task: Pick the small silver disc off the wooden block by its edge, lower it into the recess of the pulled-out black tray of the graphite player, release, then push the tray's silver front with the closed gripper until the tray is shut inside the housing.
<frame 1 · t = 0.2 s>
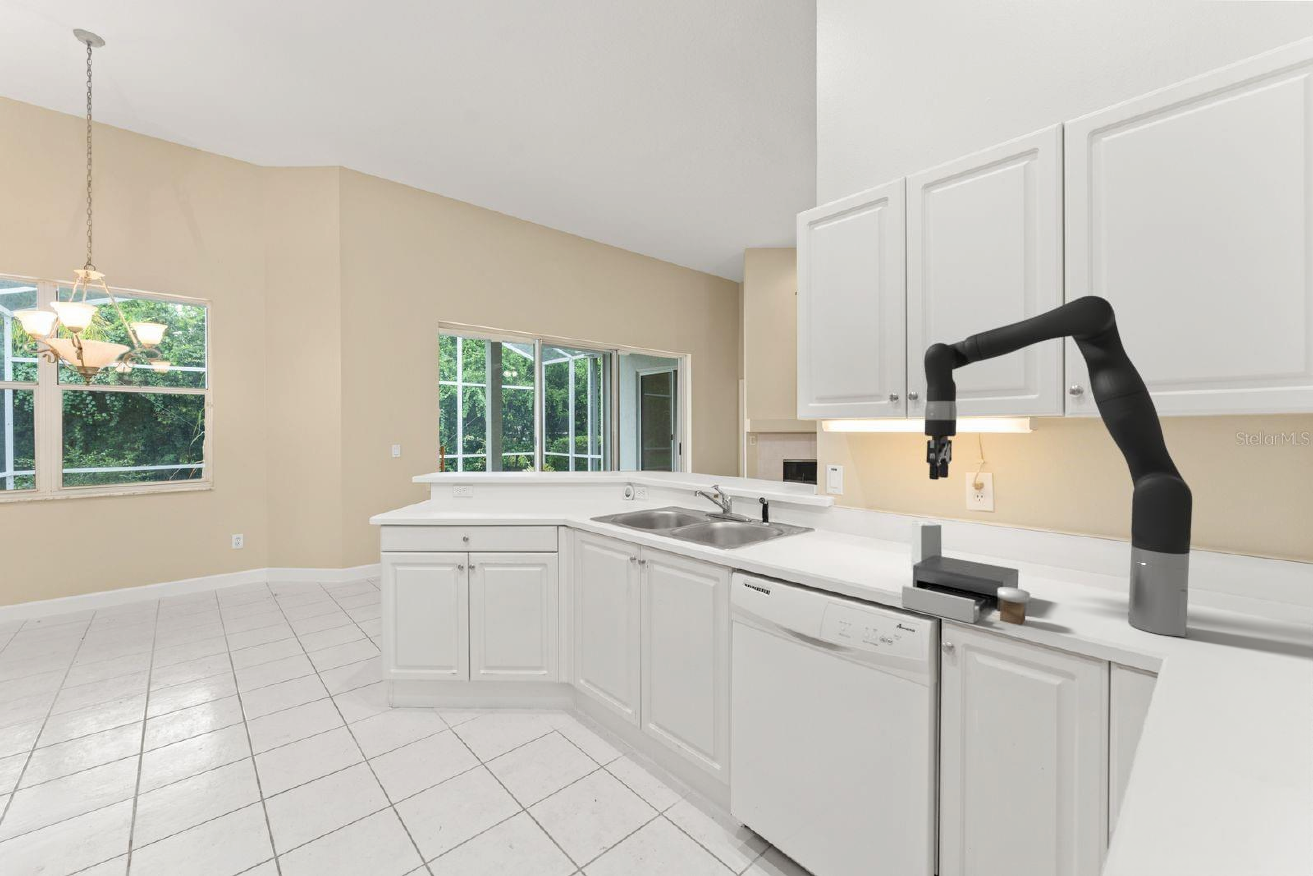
hand: (938, 478, 147), 29 cm above the worktop, fingers open, 8 cm apart
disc: (1013, 598, 121), point 5 cm above the worktop, touching wooden block
tray: (948, 595, 130), point 3 cm above the worktop, slide at 11.0 cm
skincare box: (925, 573, 159), on the worktop
wooden block: (1012, 620, 121), on the worktop
housing: (964, 594, 139), on the worktop
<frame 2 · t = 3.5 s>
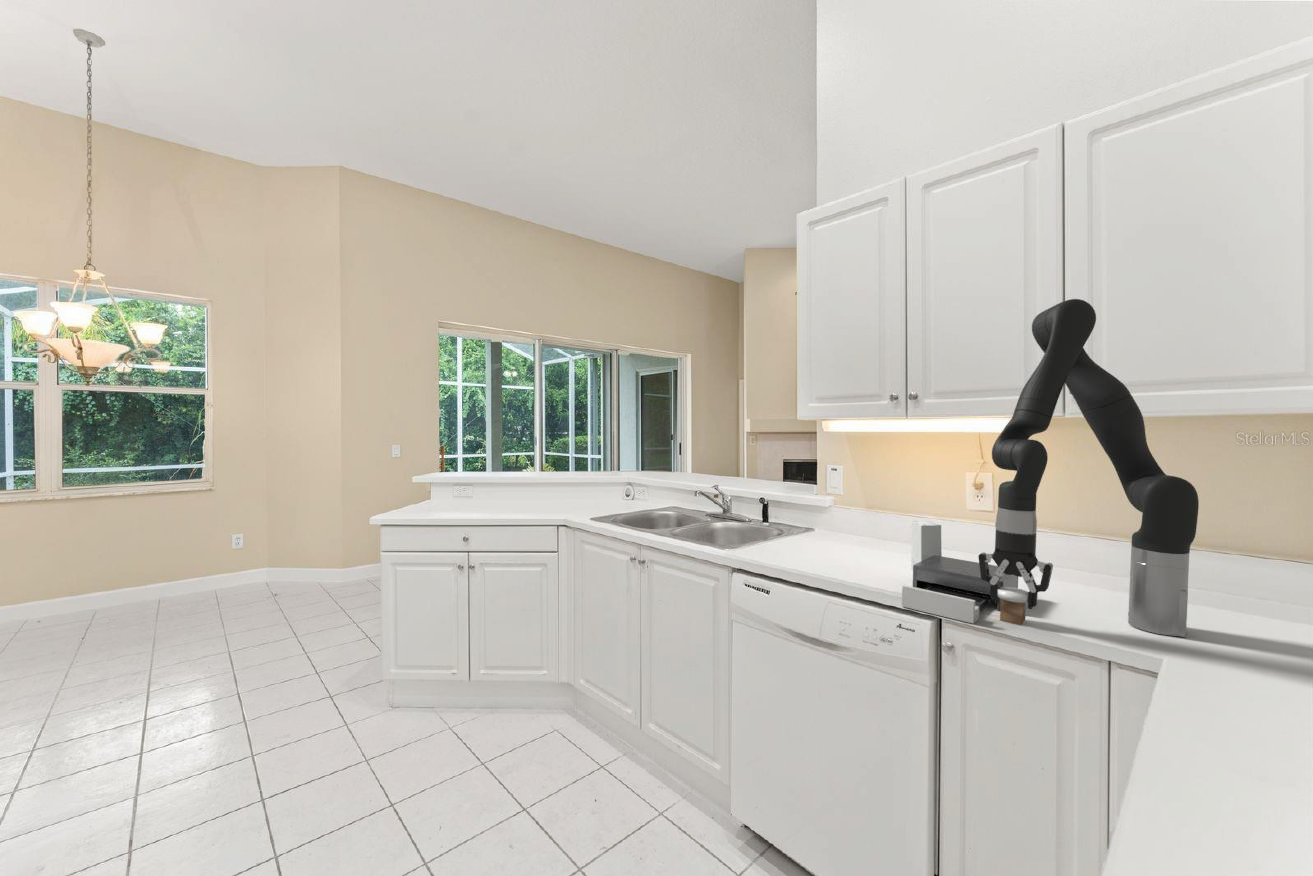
hand: (1012, 604, 121), 4 cm above the worktop, fingers closed on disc, 6 cm apart
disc: (1013, 598, 121), point 5 cm above the worktop, touching gripper, wooden block
everything else where it was.
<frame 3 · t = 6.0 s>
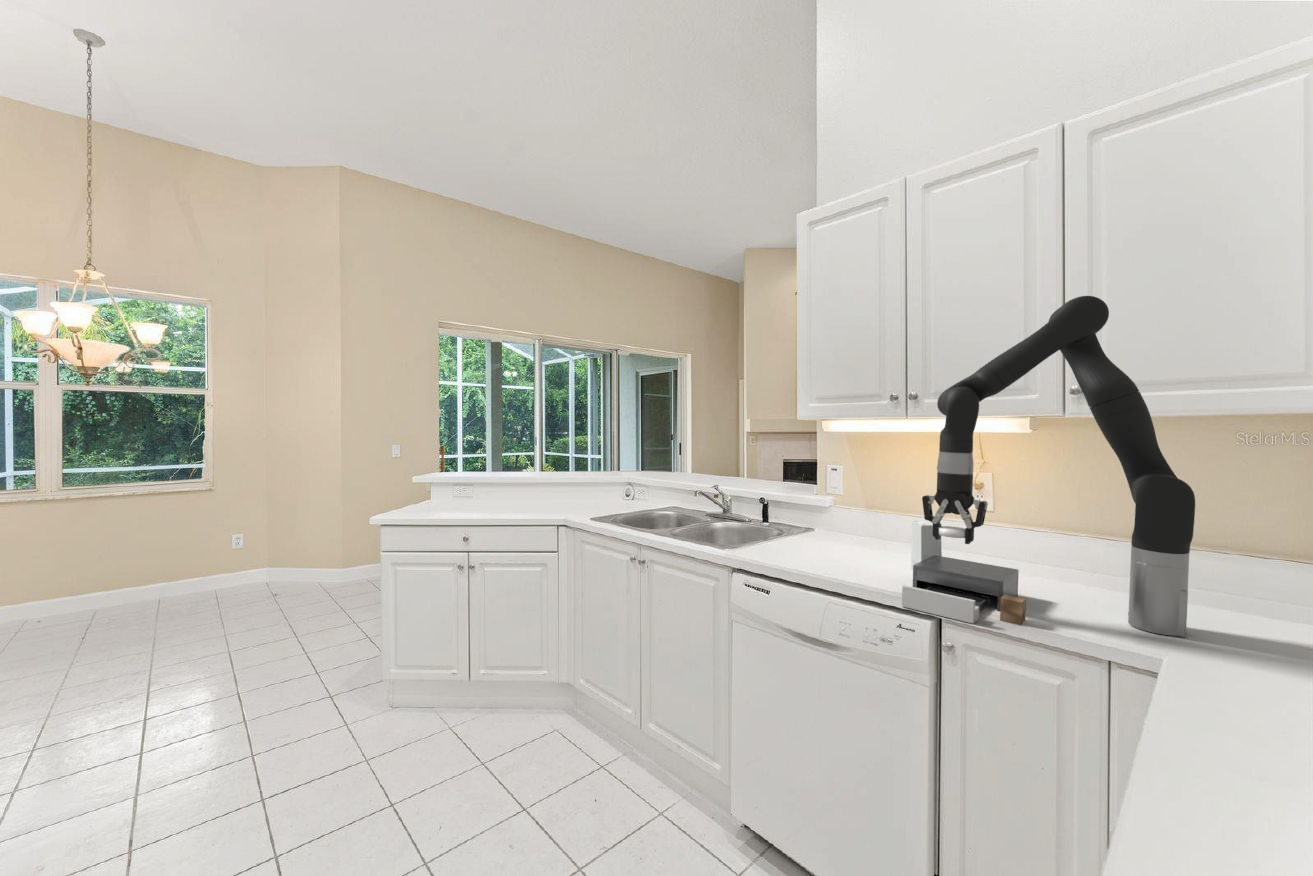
hand: (952, 541, 131), 15 cm above the worktop, fingers closed on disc, 6 cm apart
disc: (952, 535, 130), point 17 cm above the worktop, touching gripper
everything else where it was.
when the fingers open (1 cm above the worktop, at t = 8.5 s): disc drops 2 cm, resting on tray.
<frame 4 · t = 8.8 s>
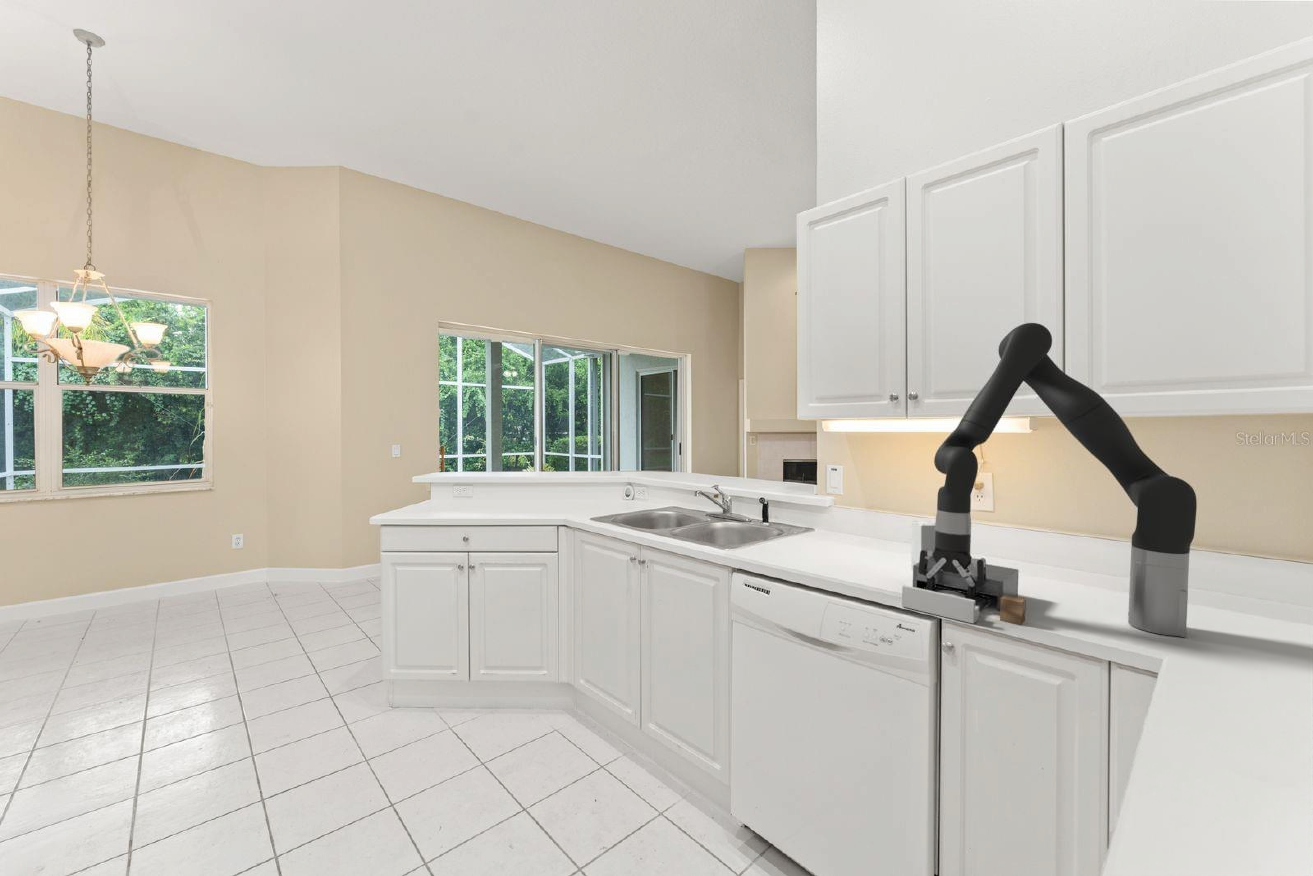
hand: (950, 597, 131), 2 cm above the worktop, fingers open, 8 cm apart
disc: (950, 600, 131), point 1 cm above the worktop, touching tray
tray: (948, 595, 130), point 3 cm above the worktop, slide at 11.0 cm, touching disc
everything else where it was.
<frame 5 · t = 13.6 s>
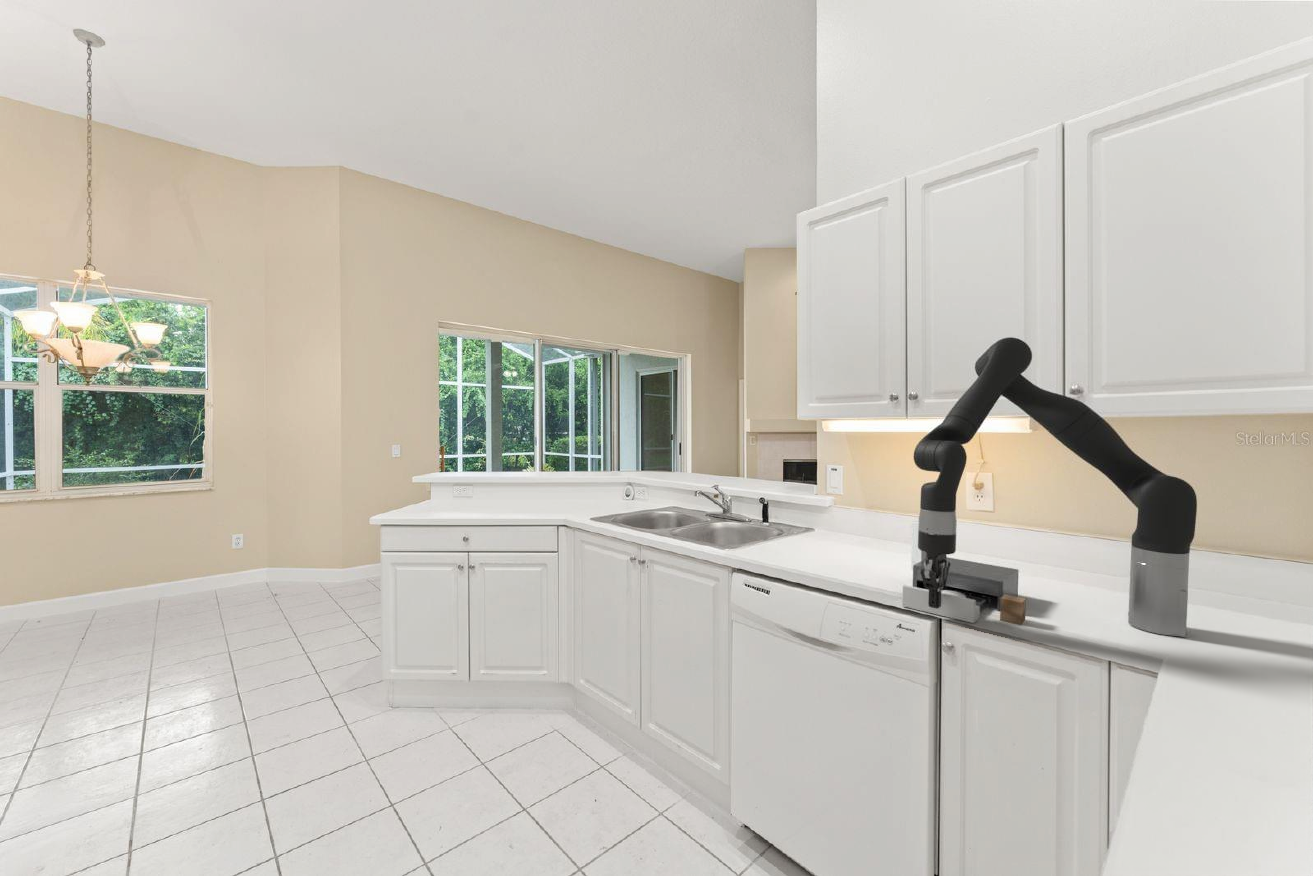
hand: (934, 607, 122), 2 cm above the worktop, fingers closed
tray: (949, 595, 130), point 3 cm above the worktop, slide at 10.7 cm, touching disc, gripper
everything else where it was.
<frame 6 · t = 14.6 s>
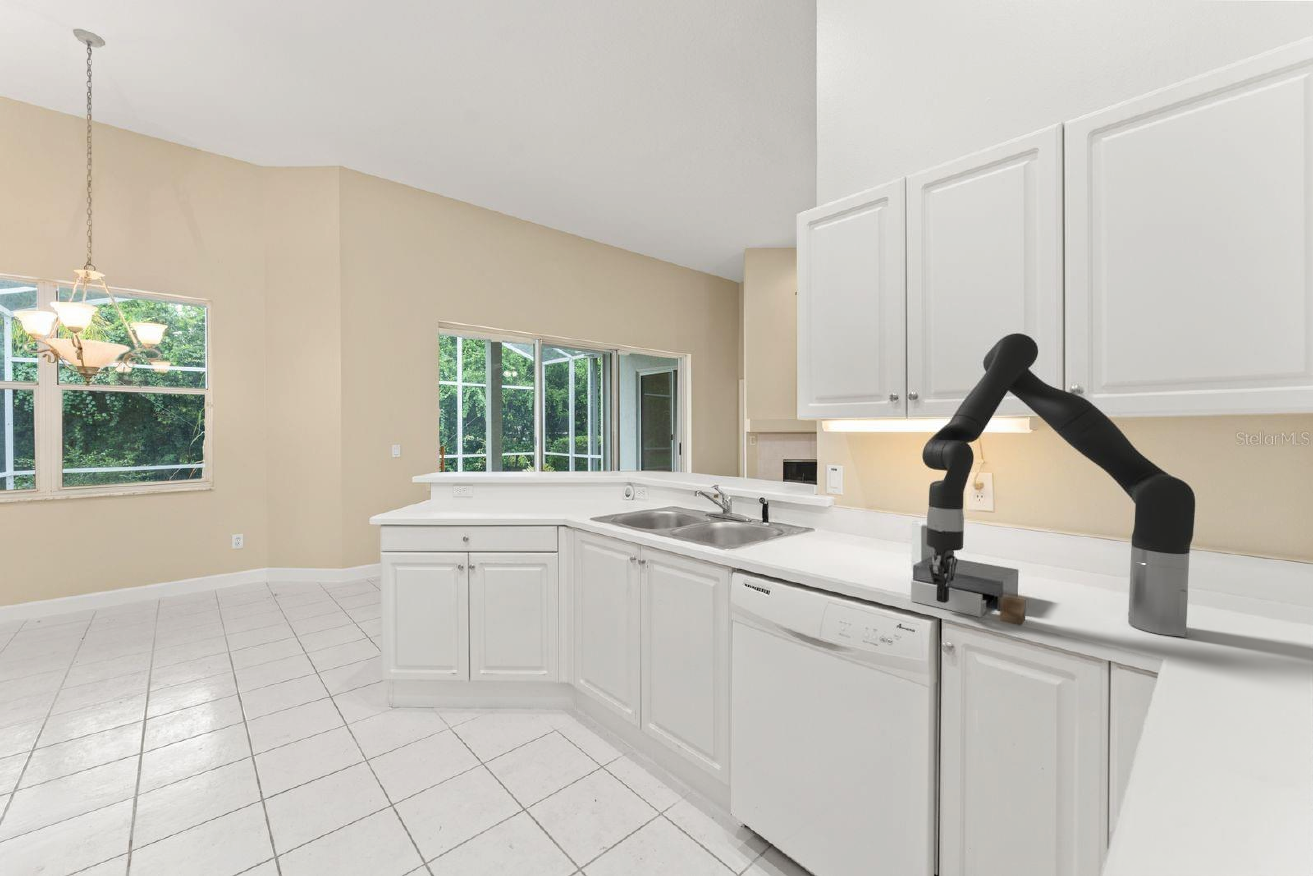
hand: (942, 601, 126), 2 cm above the worktop, fingers closed
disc: (958, 595, 135), point 1 cm above the worktop, touching tray
tray: (956, 590, 134), point 3 cm above the worktop, slide at 5.2 cm, touching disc, gripper
everything else where it was.
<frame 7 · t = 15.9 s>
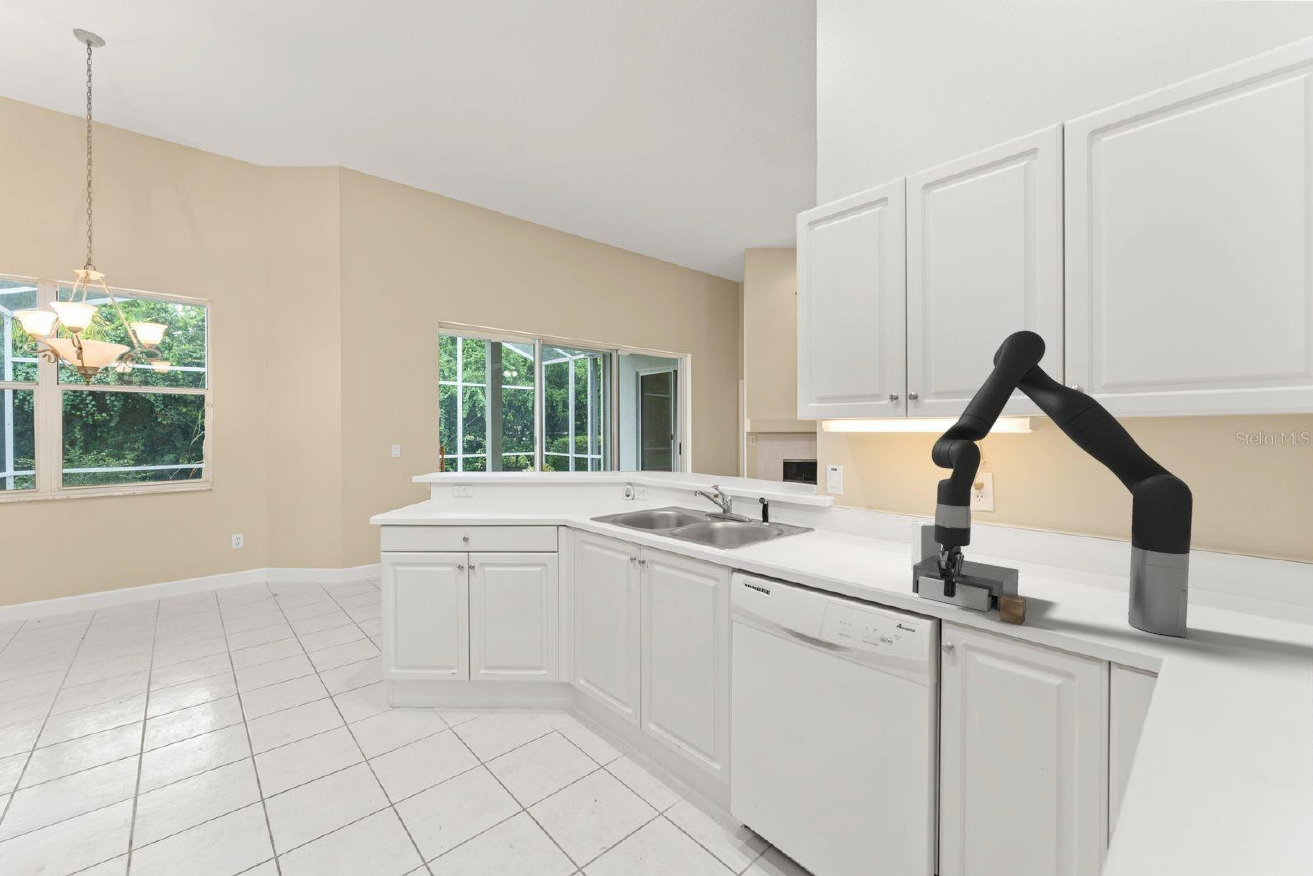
hand: (949, 596, 130), 2 cm above the worktop, fingers closed
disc: (964, 591, 139), point 1 cm above the worktop, touching tray
tray: (962, 586, 138), point 3 cm above the worktop, slide at -0.1 cm, touching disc, gripper
everything else where it was.
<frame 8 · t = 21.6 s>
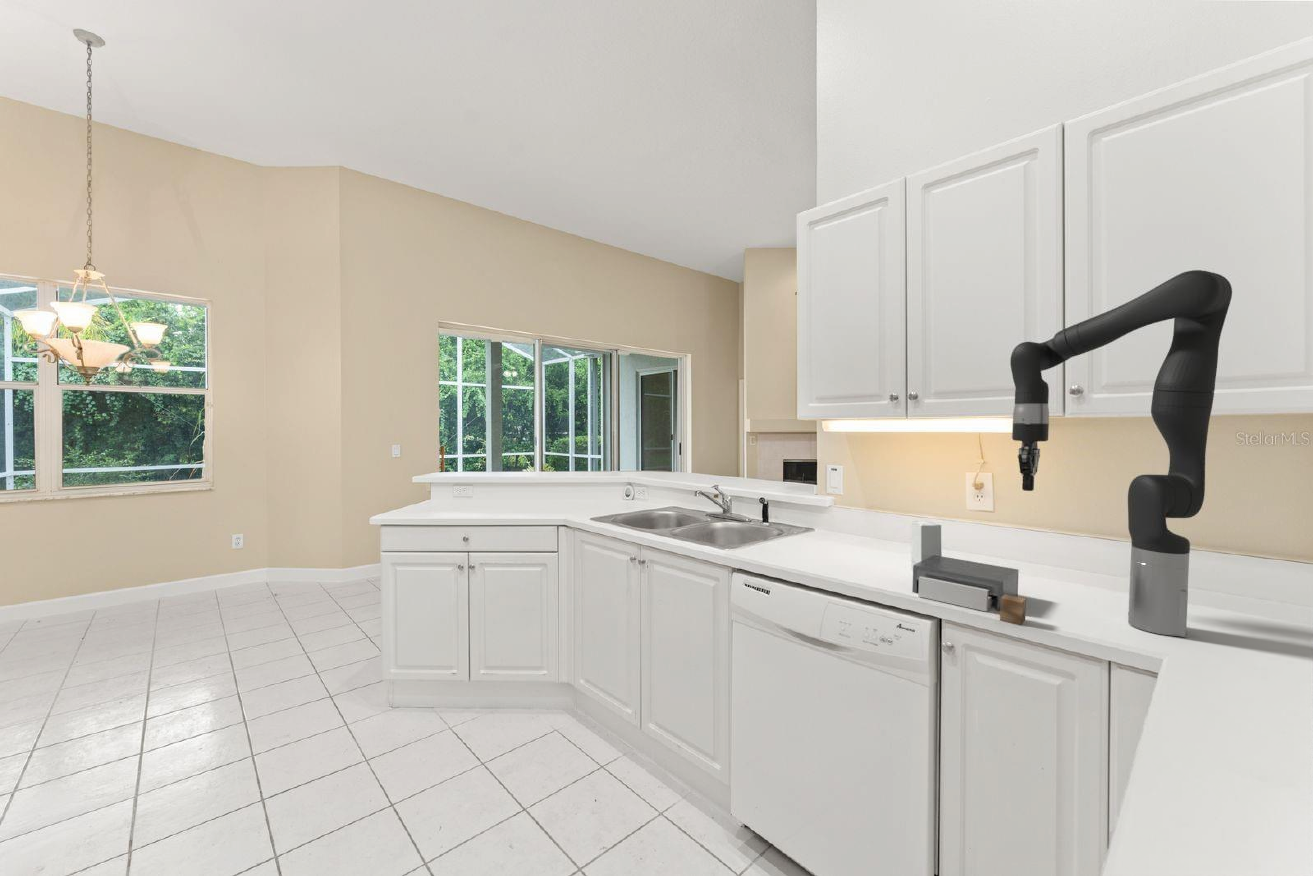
hand: (1027, 490, 138), 27 cm above the worktop, fingers closed
tray: (962, 586, 138), point 3 cm above the worktop, slide at 0.0 cm, touching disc
everything else where it was.
at the end: tray slide at 0.0 cm; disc inside the target area on the housing (0.5 cm from its centre), point 1.0 cm above the housing's base; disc tilted 0° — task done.
